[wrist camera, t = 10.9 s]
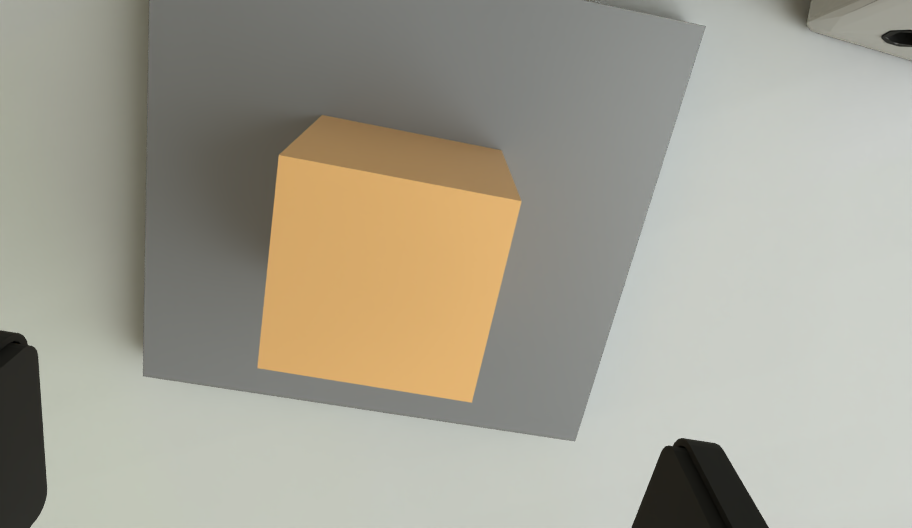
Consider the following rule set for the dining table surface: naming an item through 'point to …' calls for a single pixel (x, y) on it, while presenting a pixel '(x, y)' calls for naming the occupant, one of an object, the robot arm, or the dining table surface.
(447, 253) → the tan cardboard cube
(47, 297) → the dining table surface
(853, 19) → the electrical switch
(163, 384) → the dining table surface
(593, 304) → the plate
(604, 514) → the dining table surface
